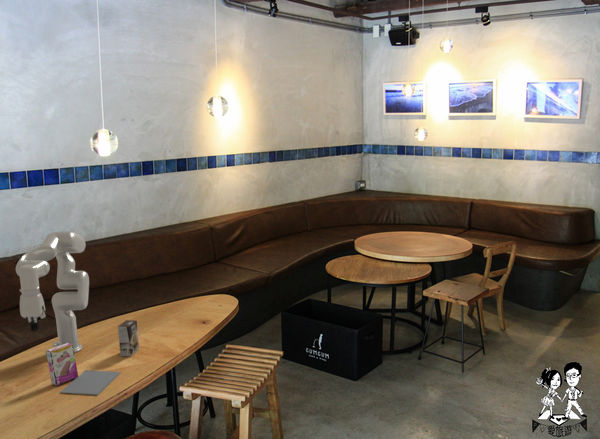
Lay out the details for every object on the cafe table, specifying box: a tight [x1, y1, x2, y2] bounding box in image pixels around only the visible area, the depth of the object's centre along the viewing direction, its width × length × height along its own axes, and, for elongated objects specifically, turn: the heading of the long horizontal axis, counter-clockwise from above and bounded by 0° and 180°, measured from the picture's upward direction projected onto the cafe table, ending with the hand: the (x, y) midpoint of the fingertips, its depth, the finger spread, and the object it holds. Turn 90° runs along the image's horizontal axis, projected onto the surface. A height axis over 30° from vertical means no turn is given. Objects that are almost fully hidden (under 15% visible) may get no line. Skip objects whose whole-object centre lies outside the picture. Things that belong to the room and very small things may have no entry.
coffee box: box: [117, 319, 140, 357], centre depth 304 cm, size 9×6×16 cm
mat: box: [59, 369, 121, 396], centre depth 273 cm, size 18×22×1 cm
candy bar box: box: [45, 343, 79, 386], centre depth 274 cm, size 11×5×16 cm, turn 140°
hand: (35, 329), depth 272 cm, fingers closed
